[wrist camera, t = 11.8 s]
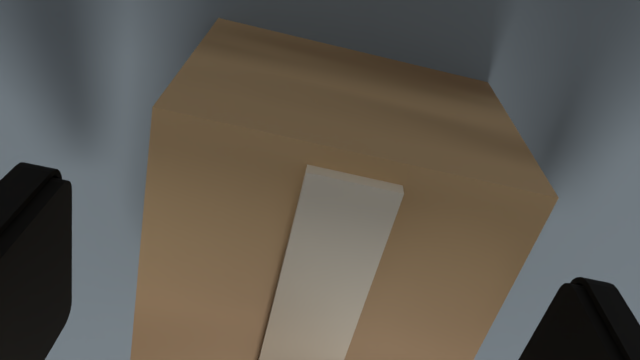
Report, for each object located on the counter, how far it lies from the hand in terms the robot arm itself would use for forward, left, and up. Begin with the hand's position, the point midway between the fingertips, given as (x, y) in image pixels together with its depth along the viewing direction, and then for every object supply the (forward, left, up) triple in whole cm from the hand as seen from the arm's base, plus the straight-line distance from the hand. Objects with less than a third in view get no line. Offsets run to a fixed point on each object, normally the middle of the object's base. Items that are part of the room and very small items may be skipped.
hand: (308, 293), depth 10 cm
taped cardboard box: (0, 0, -3) cm, 3 cm away
